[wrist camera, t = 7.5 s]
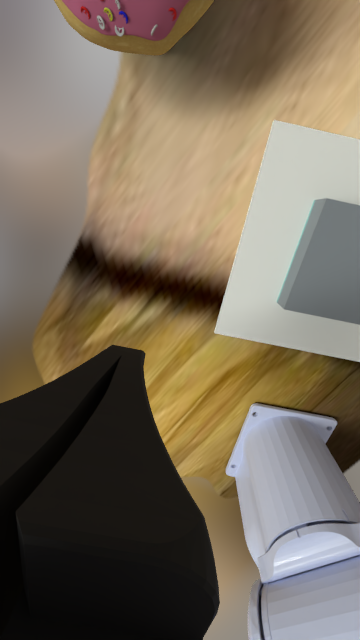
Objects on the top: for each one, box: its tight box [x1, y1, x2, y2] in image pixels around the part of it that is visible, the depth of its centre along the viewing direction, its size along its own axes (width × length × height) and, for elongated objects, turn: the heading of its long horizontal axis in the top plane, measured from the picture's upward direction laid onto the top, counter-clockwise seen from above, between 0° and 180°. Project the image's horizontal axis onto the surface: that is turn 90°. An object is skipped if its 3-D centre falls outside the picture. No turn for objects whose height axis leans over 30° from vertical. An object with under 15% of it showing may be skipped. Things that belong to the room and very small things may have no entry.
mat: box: [214, 120, 360, 362], centre depth 17 cm, size 14×14×1 cm
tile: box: [277, 198, 360, 325], centre depth 16 cm, size 2×7×6 cm
